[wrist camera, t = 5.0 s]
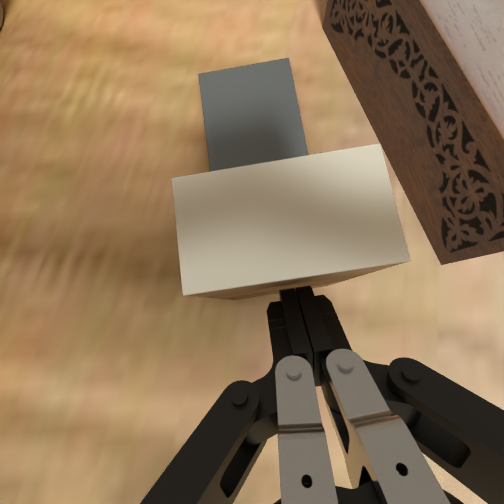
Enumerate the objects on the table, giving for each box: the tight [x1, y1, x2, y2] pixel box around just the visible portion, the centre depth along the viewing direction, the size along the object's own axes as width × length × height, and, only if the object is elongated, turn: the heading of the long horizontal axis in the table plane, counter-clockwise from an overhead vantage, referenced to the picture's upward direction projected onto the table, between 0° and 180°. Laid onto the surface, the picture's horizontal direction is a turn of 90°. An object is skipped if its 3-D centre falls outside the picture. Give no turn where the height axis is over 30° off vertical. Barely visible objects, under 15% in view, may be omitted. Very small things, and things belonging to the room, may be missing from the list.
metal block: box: [172, 143, 411, 300], centre depth 17 cm, size 4×8×14 cm, turn 98°
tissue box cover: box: [323, 0, 504, 265], centre depth 21 cm, size 26×14×10 cm, turn 20°
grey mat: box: [198, 58, 308, 171], centre depth 26 cm, size 16×9×1 cm, turn 8°
